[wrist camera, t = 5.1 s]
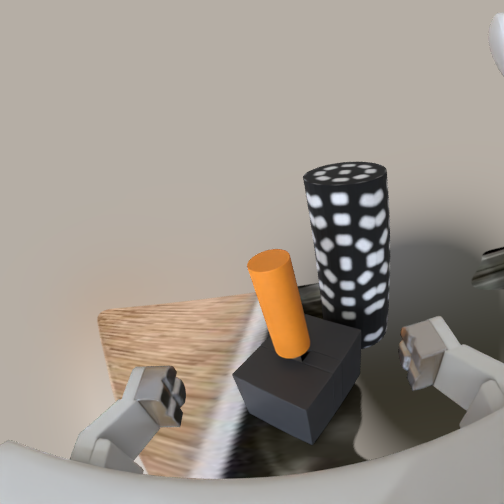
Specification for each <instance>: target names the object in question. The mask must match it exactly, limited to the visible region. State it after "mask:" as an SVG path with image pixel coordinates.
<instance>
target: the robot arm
mask: <svg viewBox="0 0 504 504" xmlns="http://www.w3.org/2000/svg"><path fill="white" fill-rule="evenodd" d="M489 46H490V51H491V54H492V57H493V59H494V61H495V64H496V65H497V67H498V69H499V71H500V72H501V74H502V75H503V76H504V13H497V14H496V15H495V16H494V17H493V19H492V21H491V24H490V27H489ZM400 335H401V337H402V339H403V340H402V341H401V342H400V344H399V349H398V352H399V359H400V363H401V365H402V368H404V369H405V370H407V371H408V374H407V379H408V382H409V383H410V386H411V389H412V391H415V390H419V389H422V388H425V387H428V386H432V385H434V387H435V388H437V389H438V390H440V391H441V392H442V393H444V394H445V395H446V396H448V397H449V398H450V399H452V400H453V401H454V402H456V403H457V404H459V405H460V406H461V407H463V408H464V409H465V410H466V411H467V412H466V414H465V415H464V417H463V419H462V420H461V422H460V424H459V425H460V428H461V429H459V430H456V431H454V432H452V433H449V434H447V435H444V436H442V437H439V438H437V439H434V440H432V441H429V442H426V443H424V444H421V445H418V446H415V447H413V448H409V449H406V450H403V451H400V452H397V453H394V454H390V455H387V456H383V457H380V458H376V459H373V460H368V461H364V462H360V463H356V464H352V465H347V466H342V467H337V468H332V469H327V470H321V471H315V472H308V473H301V474H293V475H285V476H275V477H262V478H244V479H196V478H178V477H165V476H155V475H147V474H143V469H142V468H141V467H140V466H139V465H138V464H137V463H135V462H134V460H135V458H136V457H137V456H138V455H139V453H140V452H141V451H142V450H143V449H144V447H145V446H146V445H147V444H148V442H149V441H150V440H151V439H152V438H153V436H154V435H155V434H156V433H157V431H158V430H159V429H160V427H180V425H181V420H182V415H183V412H182V410H181V409H180V407H181V406H182V405H183V404H184V403H185V399H186V391H185V387H184V384H183V382H182V380H181V379H179V378H178V377H176V373H177V372H176V370H175V369H174V367H173V366H147V367H135V368H134V369H133V370H132V373H131V375H130V378H129V381H128V383H127V386H126V389H125V391H124V394H123V397H122V400H117V401H116V402H115V403H114V404H113V405H112V406H111V407H109V408H108V409H107V410H106V411H105V412H104V413H102V414H101V415H100V416H99V417H98V418H97V419H96V420H95V421H93V422H92V423H91V424H90V425H89V426H88V427H86V428H85V429H84V430H83V431H82V432H81V433H80V434H79V436H78V438H77V441H76V443H75V446H74V449H73V451H72V454H71V457H70V459H66V458H63V457H59V456H56V455H52V454H49V453H46V452H43V451H40V450H37V449H34V448H31V447H28V446H26V445H23V444H21V443H18V442H15V441H12V440H8V441H6V442H4V443H2V444H0V504H504V363H501V362H500V361H498V360H496V359H493V358H491V357H489V356H487V355H485V354H483V353H481V352H479V351H477V350H475V349H473V348H471V347H469V346H467V345H465V344H463V345H460V343H459V342H458V340H457V339H456V337H455V336H454V334H453V333H452V331H451V330H450V328H449V327H448V326H447V324H446V323H445V321H444V320H443V318H442V317H441V316H437V317H434V318H431V319H428V320H424V321H421V322H417V323H414V324H411V325H407V326H404V327H402V329H401V334H400Z"/></svg>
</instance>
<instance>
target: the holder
mask: <svg viewBox="0 0 504 504" xmlns="http://www.w3.org/2000/svg"><path fill="white" fill-rule="evenodd" d="M304 316H305V321H306V325H307V329H308V334H309V338H310V347H309V349H308V350H307V351H306V352H305V353H304V354H303V355H301V359H302V363H301V362H299V361H296V360H294V359H291V358H283V357H281V356H279V355H278V354H277V353H276V351H275V348H274V345H273V342H272V339H271V336H269V337H268V338H267V339H266V340H265V341H264V342H263V343H262V344H261V346H260V347H259V348H258V349H257V350H256V351H255V352H254V353H253V354H252V355H251V356H250V357H249V358H248V359H247V360H246V361H245V362H244V363H243V364H242V365H241V366H240V367H239V368H238V369H237V370H236V371H235V372H234V373H233V374H232V375H233V378H234V380H235V382H236V384H237V387H238V389H239V391H240V393H241V395H242V398H243V400H244V402H245V404H246V406H247V409H248V411H249V413H251V414H252V415H254V416H256V417H258V418H260V419H262V420H263V421H265V422H267V423H269V424H271V425H273V426H275V427H277V428H278V429H280V430H282V431H284V432H286V433H288V434H290V435H292V436H294V437H296V438H298V439H301V440H303V441H305V442H307V443H309V444H311V445H313V444H314V442H315V441H316V440H317V438H318V437H319V436H320V434H321V433H322V431H323V430H324V429H325V427H326V426H327V424H328V423H329V421H330V420H331V419H332V417H333V416H334V414H335V413H336V411H337V410H338V408H339V407H340V405H341V404H342V402H343V401H344V399H345V398H346V396H347V394H348V393H349V391H350V390H351V388H352V386H353V385H354V383H355V381H356V380H357V378H358V376H359V375H360V362H361V330H359V329H356V328H352V327H348V326H345V325H341V324H337V323H334V322H330V321H327V320H323V319H320V318H316V317H313V316H310V315H306V314H304Z"/></svg>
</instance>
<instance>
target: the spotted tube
mask: <svg viewBox="0 0 504 504" xmlns="http://www.w3.org/2000/svg"><path fill="white" fill-rule="evenodd" d="M303 180H304V185H305V191H306V197H307V203H308V209H309V215H310V222H311V228H312V234H313V241H314V248H315V255H316V263H317V270H318V278H319V286H320V294H321V303H322V312H323V320H327V321H330V322H334V323H337V324H341V325H345V326H348V327H352V328H356V329H359V330H361V349H364V348H367V347H370V346H372V345H374V344H376V343H377V342H379V341H380V340H381V339H382V337H383V336H384V335H385V333H386V330H387V321H388V306H389V304H388V303H389V284H390V220H389V199H388V198H389V197H388V182H387V171H386V168H385V167H384V166H382V165H379V164H375V163H368V162H343V163H336V164H330V165H325V166H322V167H319V168H316V169H313V170H311V171H309V172H307V173H306V174H305V175H304V176H303Z"/></svg>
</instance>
